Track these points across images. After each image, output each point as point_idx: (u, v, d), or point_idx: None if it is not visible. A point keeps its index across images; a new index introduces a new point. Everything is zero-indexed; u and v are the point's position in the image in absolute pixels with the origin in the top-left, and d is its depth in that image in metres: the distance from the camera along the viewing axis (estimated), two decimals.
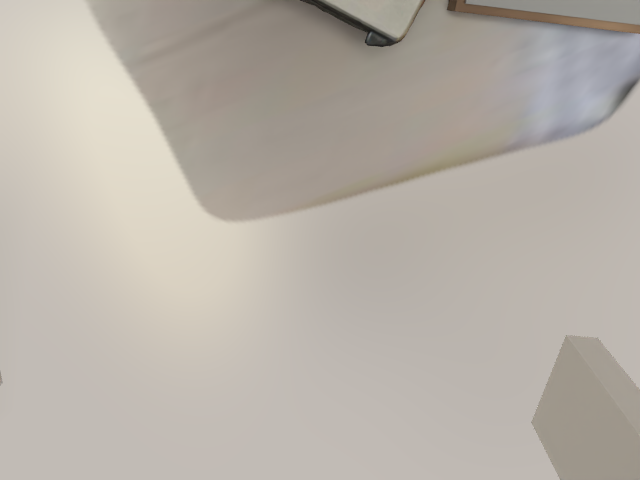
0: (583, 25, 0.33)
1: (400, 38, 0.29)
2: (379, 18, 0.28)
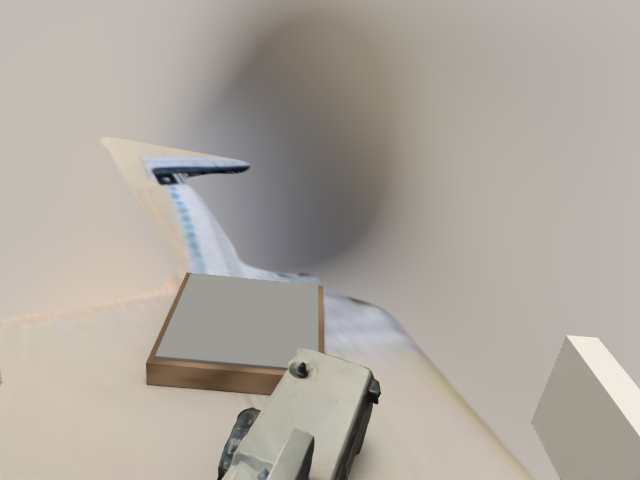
0: (322, 313, 0.45)
1: (368, 369, 0.32)
2: (357, 382, 0.31)
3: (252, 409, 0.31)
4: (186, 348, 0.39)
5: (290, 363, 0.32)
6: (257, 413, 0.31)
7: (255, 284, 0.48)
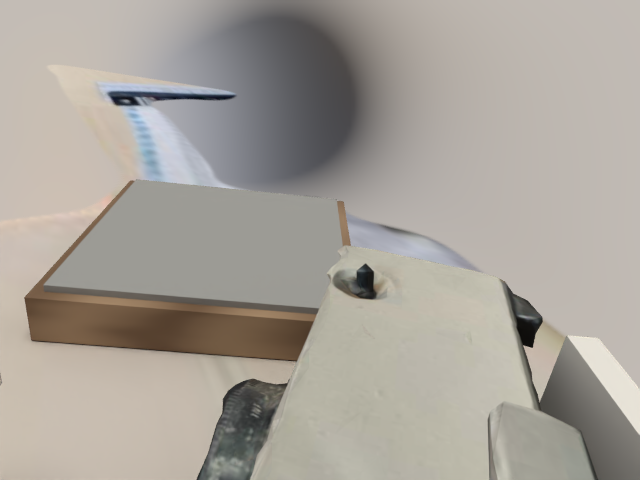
0: (347, 233, 0.28)
1: (496, 278, 0.15)
2: (490, 299, 0.14)
3: (255, 382, 0.13)
4: (107, 274, 0.21)
5: (333, 273, 0.14)
6: (269, 389, 0.13)
7: (238, 195, 0.30)
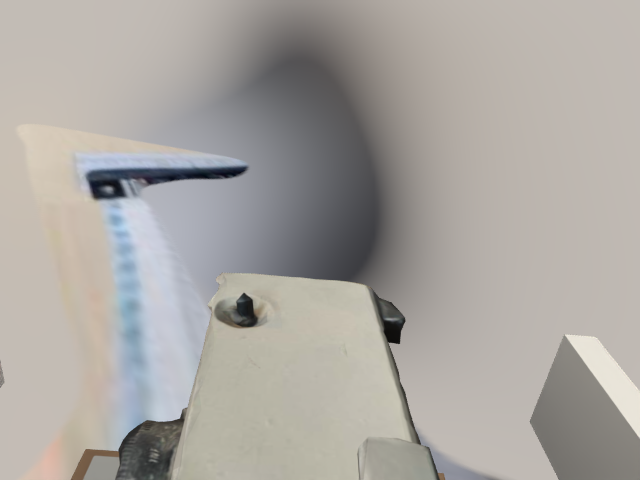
0: None
1: (363, 285, 0.17)
2: (359, 308, 0.15)
3: (149, 424, 0.13)
4: None
5: (213, 304, 0.15)
6: (165, 430, 0.13)
7: None
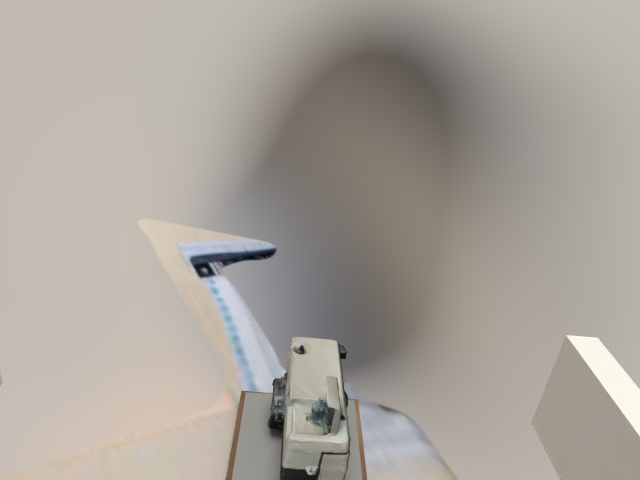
0: (360, 431, 0.54)
1: (335, 340, 0.55)
2: (333, 349, 0.54)
3: (277, 379, 0.52)
4: (254, 478, 0.47)
5: (292, 347, 0.53)
6: (282, 380, 0.52)
7: None
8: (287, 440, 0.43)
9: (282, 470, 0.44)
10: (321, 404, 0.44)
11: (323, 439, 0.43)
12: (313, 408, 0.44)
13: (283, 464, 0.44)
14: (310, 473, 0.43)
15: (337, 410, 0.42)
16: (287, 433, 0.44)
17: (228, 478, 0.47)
